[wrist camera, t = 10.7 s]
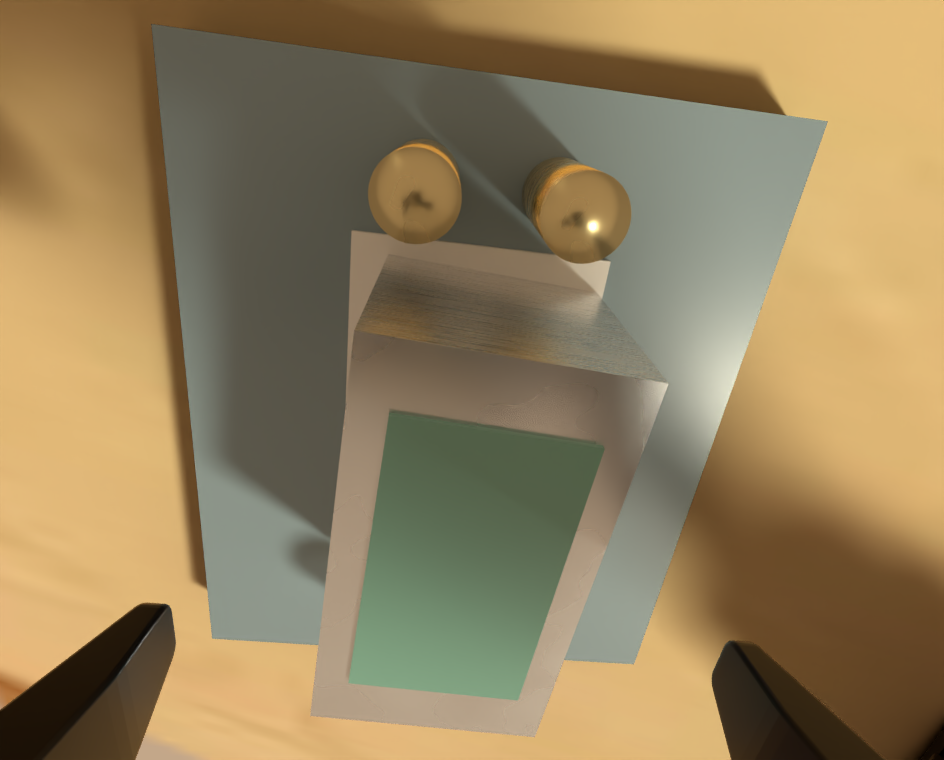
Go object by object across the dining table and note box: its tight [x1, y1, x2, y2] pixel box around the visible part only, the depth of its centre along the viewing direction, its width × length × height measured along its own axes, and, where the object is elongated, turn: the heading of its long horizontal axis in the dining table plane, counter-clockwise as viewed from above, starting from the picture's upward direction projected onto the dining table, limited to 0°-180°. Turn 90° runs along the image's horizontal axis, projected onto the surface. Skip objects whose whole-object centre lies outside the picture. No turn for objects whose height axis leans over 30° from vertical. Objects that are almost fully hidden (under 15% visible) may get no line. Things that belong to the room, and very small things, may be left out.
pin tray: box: [151, 24, 828, 664], centre depth 15 cm, size 14×17×4 cm
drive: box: [310, 254, 669, 737], centre depth 13 cm, size 5×9×5 cm, turn 169°
